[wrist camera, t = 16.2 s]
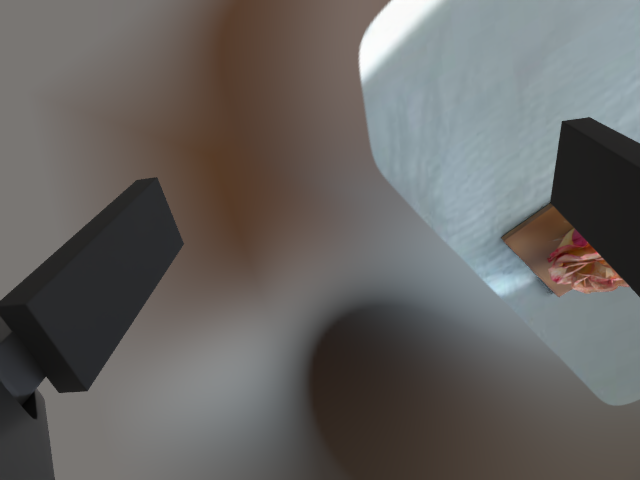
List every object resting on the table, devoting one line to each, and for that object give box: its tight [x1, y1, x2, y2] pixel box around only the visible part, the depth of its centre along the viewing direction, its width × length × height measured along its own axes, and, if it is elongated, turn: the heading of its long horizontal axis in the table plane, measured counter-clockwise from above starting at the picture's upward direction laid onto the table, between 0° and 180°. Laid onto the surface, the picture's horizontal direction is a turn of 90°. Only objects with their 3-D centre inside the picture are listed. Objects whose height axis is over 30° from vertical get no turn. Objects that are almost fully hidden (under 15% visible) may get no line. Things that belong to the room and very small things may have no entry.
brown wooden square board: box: [502, 203, 574, 297], centre depth 43 cm, size 11×11×1 cm
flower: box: [547, 221, 630, 294], centre depth 40 cm, size 10×9×8 cm
